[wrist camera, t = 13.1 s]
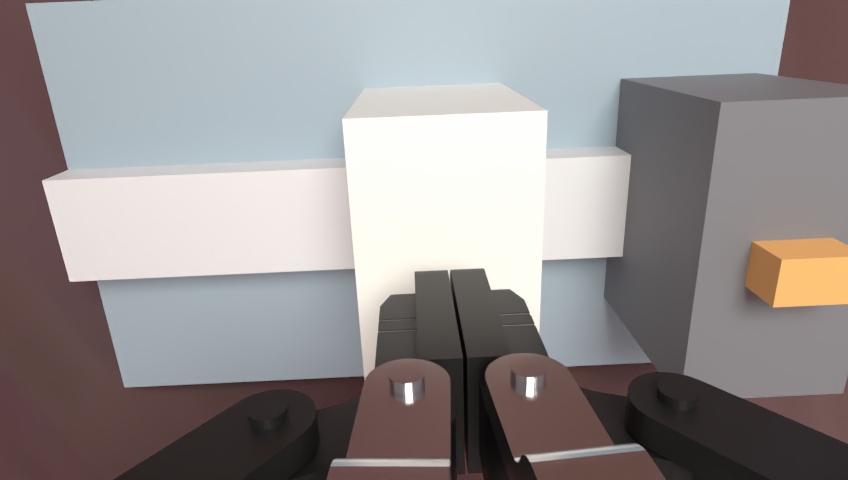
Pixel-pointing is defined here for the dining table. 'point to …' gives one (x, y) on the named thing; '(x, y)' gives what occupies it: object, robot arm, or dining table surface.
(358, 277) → the din module
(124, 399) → the dining table surface
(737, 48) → the rail board
